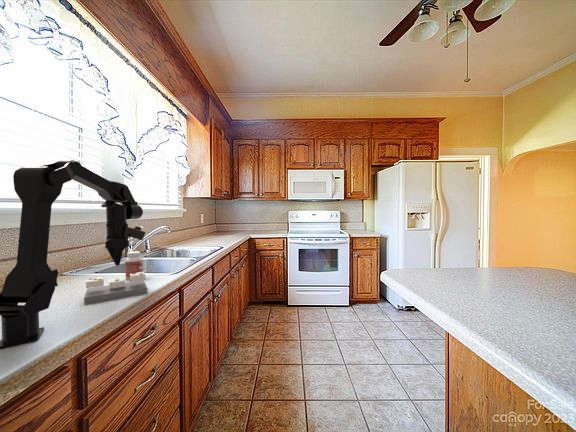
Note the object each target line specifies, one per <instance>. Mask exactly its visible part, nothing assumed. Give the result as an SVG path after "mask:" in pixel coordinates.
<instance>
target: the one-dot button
mask: <svg viewBox="0 0 576 432" xmlns="http://www.w3.org/2000/svg"><path fill="white" fill-rule="evenodd" d="M125 283H126V277H121V278H113V279H109V283H108V285H109V289H111V288H118V287H124V286H125Z"/></svg>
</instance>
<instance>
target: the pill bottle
mask: <svg viewBox="0 0 576 432" xmlns="http://www.w3.org/2000/svg"><path fill="white" fill-rule="evenodd" d="M126 254H127V258H126V259H125V261H124V265H125V270H124V271H125V280H130V273H138V272H143V258H142V257H141V252H140V251H139V250H137V251H129V252H127V253H126Z"/></svg>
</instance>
